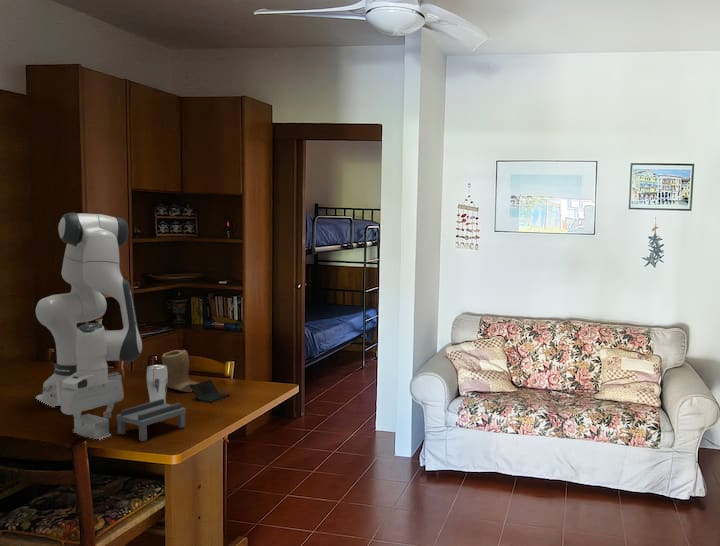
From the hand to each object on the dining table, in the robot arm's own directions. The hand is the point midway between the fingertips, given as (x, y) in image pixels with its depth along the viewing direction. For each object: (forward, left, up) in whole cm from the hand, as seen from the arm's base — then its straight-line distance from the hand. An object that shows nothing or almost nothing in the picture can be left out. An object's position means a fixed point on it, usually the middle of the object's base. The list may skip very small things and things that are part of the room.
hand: (94, 421), depth 214 cm
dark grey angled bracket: (-1, +50, -4) cm, 50 cm away
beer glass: (-5, +29, -4) cm, 29 cm away
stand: (+11, +13, -4) cm, 17 cm away
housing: (-1, 0, -4) cm, 4 cm away
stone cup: (-19, +52, -4) cm, 55 cm away
